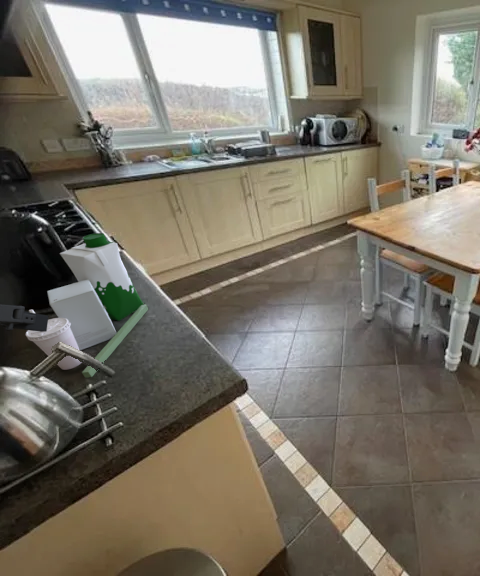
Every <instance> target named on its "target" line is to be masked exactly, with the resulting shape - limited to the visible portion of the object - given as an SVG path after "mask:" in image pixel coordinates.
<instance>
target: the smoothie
mask: <svg viewBox="0 0 480 576" xmlns="http://www.w3.org/2000/svg"><path fill="white" fill-rule="evenodd" d="M28 312H30V313H36V312H35V311H34V309H29V310H28ZM70 325H71V323H70V322H69V321H68V319H66V318H58V317H53V318H50V319H49V318H48V324H47V331H45V332H39V331H31V330H26V332H25V336H26V338H27V340H28V341H30V342H33V343H34V344H35V345H36V346H37V347H38V348H39V349H40V350H41V351H42V352H43V353H44V354H46V355H47V356H48V357H49V355H50V354H51V353H52V350H51V348H52V346H54V345H55V344H57V343H58V342H63V343H65V344H67V345H70V346H72V347H74V348H76V349H78V350H79V347H78V345H77V343H76V340H75V338H74V336H73V333H72V331H71V328H70ZM82 363H83V362H80V361H79V360H78V359H75V358H73V357H71V356H66V357H64V358H63V359H62V360H61V361H59V362H58V364H56V365H57V366H58V367H59V368H60V369H61V370H64V371H68V370H71V369H74V368H77V367H78V366H79V365H81V364H82Z"/></svg>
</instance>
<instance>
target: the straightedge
mask: <svg viewBox="0 0 480 576" xmlns="http://www.w3.org/2000/svg"><path fill="white" fill-rule="evenodd" d="M148 311H149V307H148V305H147V304H144V305H141V306H140V307H139V308H138V310H136V311H135V312H133V313H132V315H131V316H130V317H129V319H128V320H127V321H126V322H125V323H124V324H123V325H122V326H121V328H120V329H119V330H118V331H116V332H117V333H116V334H115V336H114V337H113V338H112V339H109V340H108V343H107V344H105V345H104V347H103V348H102V349H101V350H100V351H99V353H97V355H96V356H94V358H95V359H97V360H99V361H100V362H103V364H104V363H105V362H106V361H107V360H108V358H109V357H110V356H111V355H112V354H113V352H115V350H116V349H117V348H118V347H119V345H120V344H121V343H122V342H123V340H124V339H126V337H127V335H129V333H130V332H131V331H132V329H134V327H135V326H136V325H137V323H138V322H139V321H140V320H141V319H142V318H143V316H144V315H145V314H146V313H147V312H148ZM105 360H106V361H105ZM104 361H105V362H104ZM97 372H98V370H97V371H96V370H95V369H94V368H92V367H91V366H88V365H87V366H86V367H85V368H84V369H83V370H82V371H81V373H82V375H83V376H84V378H85V379H87V378H88V379H89V378H93V376H94V375H95V374H96V373H97Z"/></svg>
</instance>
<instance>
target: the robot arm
mask: <svg viewBox="0 0 480 576" xmlns="http://www.w3.org/2000/svg"><path fill="white" fill-rule="evenodd" d="M48 320H49V315H46V314H41V313H36V312H35V313H30V312H29V311H25V306H22V305H10V304H0V326H1V327H2V328H5V331H13V330H14V329H15V330H24V331H28V330H31V331H39V332H45V331H47V324H48Z"/></svg>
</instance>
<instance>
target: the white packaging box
mask: <svg viewBox="0 0 480 576" xmlns="http://www.w3.org/2000/svg"><path fill="white" fill-rule="evenodd" d="M46 292H47V297H48V298H47V299H48V302H49V306H50V307H51V309H52V310H53V312H54V314H55V315H56V317H57V318H66V319H68V321H69V322H70V323H71V325H70V328H71V331H72V333H73V336H74V338H75V340H76V343H77V345H78V347H79V350H80V351H82V350H85V349H87V348H88V349H89V348H91V347H93V346H96V345H99V344H101V343H104V342H106V341H110V340H111V339H112V338H113V337H114V336H115V334H116V333H117V332H118V331H116V328H115V326H114V324H113V321H112V319H110V318H109V316H108V314H107V312H106V310H105V308H104V306H103V304H102V303H101V301H100V299H99V297H98V295H97V293H96V292H95V290H94V288H93V286H92V285H91V283H90V281H89V280H88V279H87V280H84V281H80V282H78V281H77V282H73V283H71V284H68V285H64V286H61V287H56V288H53V289H50V290H47V291H46Z"/></svg>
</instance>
